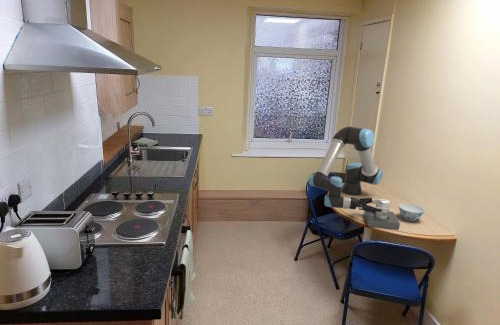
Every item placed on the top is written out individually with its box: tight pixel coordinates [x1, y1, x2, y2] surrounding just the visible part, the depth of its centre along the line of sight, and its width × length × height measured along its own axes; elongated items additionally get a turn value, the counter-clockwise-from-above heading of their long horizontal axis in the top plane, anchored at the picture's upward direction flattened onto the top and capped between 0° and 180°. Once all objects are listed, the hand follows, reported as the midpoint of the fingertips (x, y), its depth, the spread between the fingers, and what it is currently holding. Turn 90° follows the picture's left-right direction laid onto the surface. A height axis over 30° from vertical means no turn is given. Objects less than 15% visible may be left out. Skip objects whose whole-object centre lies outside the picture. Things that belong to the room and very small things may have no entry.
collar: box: [363, 210, 401, 230], centre depth 217 cm, size 18×18×4 cm
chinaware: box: [398, 202, 425, 222], centre depth 223 cm, size 15×15×8 cm
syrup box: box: [374, 198, 391, 219], centre depth 215 cm, size 6×6×14 cm
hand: (384, 206), depth 214 cm, fingers open, 13 cm apart
